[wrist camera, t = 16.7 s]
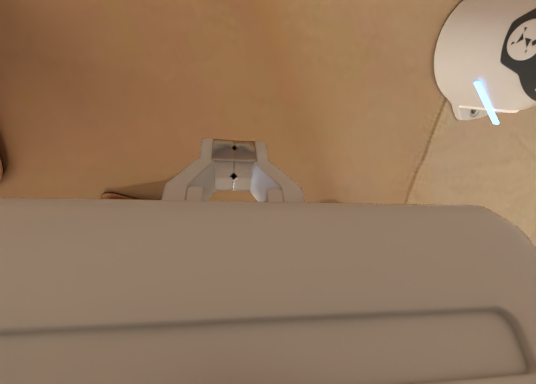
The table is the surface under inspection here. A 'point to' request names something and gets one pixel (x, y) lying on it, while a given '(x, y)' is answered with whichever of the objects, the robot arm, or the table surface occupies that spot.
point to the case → (1, 170)
